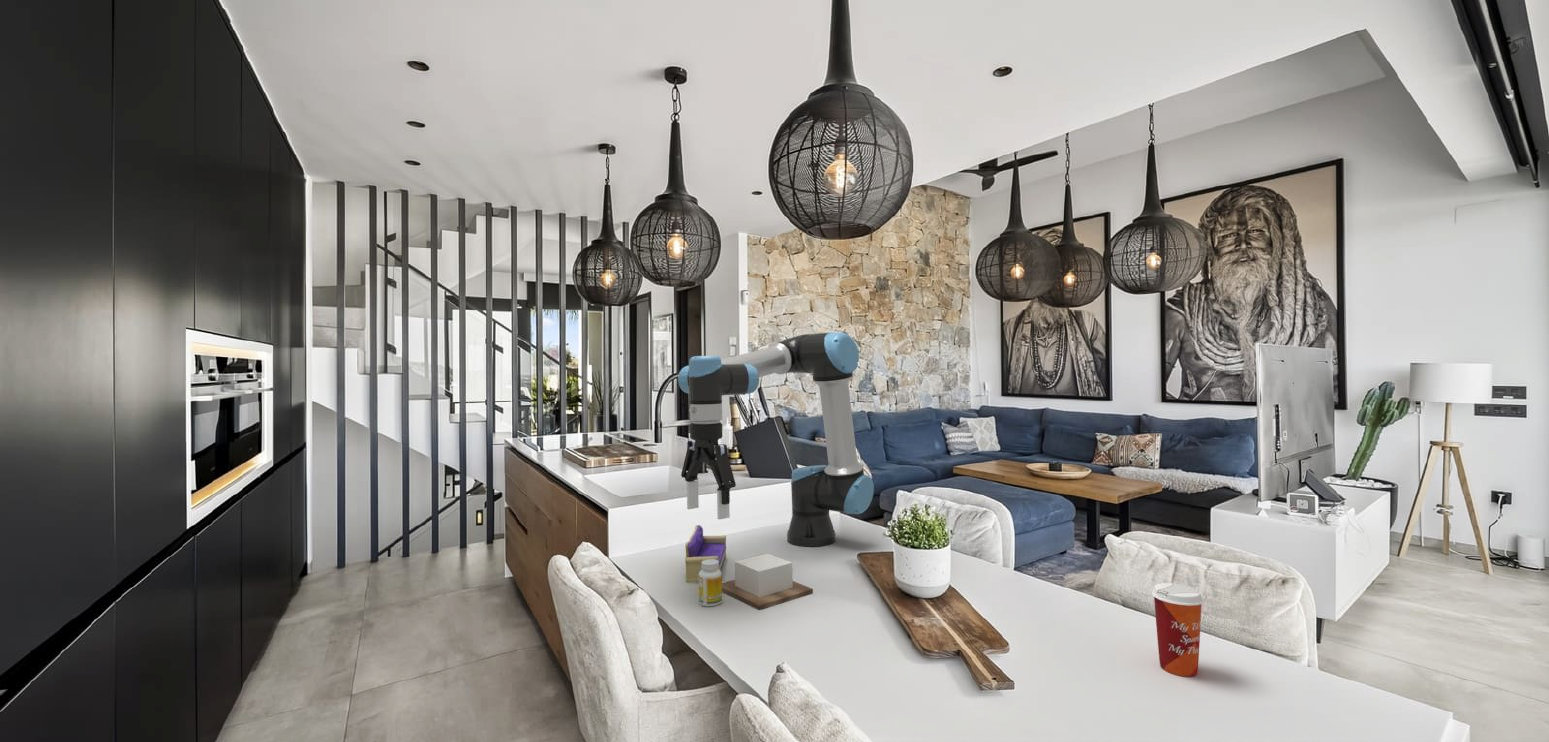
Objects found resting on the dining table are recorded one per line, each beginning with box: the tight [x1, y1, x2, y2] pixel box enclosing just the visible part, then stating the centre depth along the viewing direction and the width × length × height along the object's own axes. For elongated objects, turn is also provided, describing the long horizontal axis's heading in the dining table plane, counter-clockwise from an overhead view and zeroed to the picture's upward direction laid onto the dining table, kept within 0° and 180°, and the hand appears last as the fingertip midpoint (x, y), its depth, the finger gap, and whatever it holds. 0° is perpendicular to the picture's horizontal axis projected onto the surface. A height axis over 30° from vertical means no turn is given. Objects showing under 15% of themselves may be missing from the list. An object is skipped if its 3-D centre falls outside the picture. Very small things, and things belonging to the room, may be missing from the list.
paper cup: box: [1151, 582, 1205, 678], centre depth 110 cm, size 8×8×14 cm
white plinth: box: [734, 553, 794, 597], centre depth 153 cm, size 10×10×6 cm
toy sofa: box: [684, 524, 727, 583], centre depth 170 cm, size 21×9×10 cm, turn 179°
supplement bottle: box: [698, 559, 723, 607], centre depth 146 cm, size 5×5×10 cm
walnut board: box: [722, 579, 814, 611], centre depth 153 cm, size 16×18×1 cm
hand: (707, 513), depth 146 cm, fingers open, 13 cm apart
